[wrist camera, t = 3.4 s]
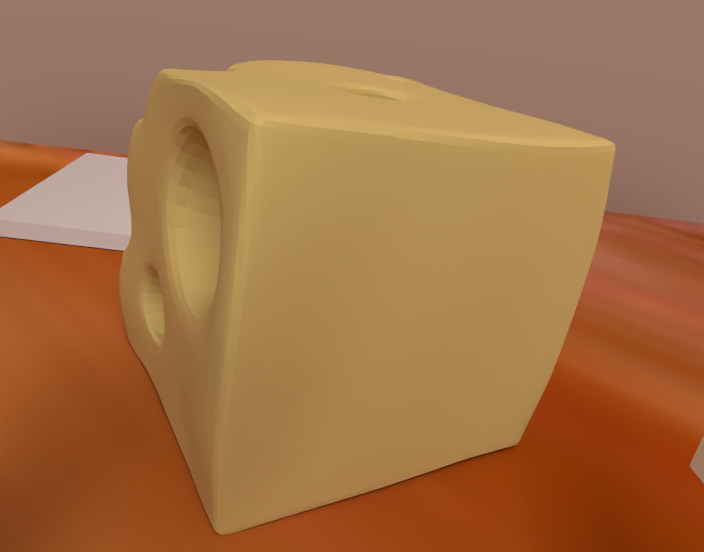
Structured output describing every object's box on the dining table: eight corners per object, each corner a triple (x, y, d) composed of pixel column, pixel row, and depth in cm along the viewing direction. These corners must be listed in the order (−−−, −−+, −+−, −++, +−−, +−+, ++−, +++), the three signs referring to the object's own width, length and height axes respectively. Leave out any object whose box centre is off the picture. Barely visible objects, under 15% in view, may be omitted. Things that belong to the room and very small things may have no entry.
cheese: (117, 335, 21) (115, 36, 17) (372, 304, 27) (415, 71, 23) (205, 568, 13) (239, 112, 9) (543, 456, 19) (657, 137, 15)
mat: (-14, 234, 27) (-16, 217, 27) (87, 164, 39) (87, 152, 38) (536, 299, 30) (541, 284, 29) (474, 216, 42) (476, 205, 41)
